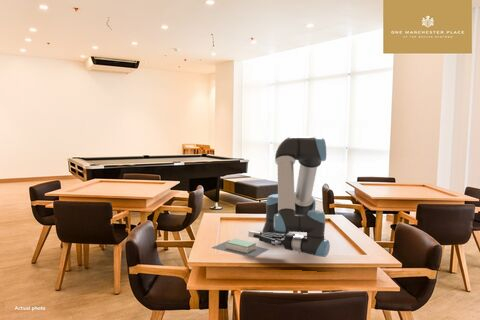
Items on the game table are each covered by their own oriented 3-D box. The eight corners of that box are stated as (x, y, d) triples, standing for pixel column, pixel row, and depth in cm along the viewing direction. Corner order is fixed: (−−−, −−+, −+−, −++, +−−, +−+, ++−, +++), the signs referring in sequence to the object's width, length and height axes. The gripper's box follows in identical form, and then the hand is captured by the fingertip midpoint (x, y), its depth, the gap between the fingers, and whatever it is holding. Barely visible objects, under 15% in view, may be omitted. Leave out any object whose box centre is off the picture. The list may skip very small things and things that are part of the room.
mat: (269, 249, 184) (269, 249, 184) (253, 258, 170) (253, 257, 170) (229, 241, 197) (229, 240, 197) (211, 248, 183) (211, 247, 183)
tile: (255, 242, 183) (235, 238, 190) (247, 246, 177) (226, 242, 183) (255, 248, 184) (235, 244, 190) (247, 253, 177) (226, 248, 183)
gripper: (288, 254, 162) (242, 244, 174) (299, 247, 173) (255, 238, 186) (288, 237, 162) (242, 228, 174) (300, 231, 173) (256, 223, 185)
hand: (249, 233), depth 180 cm, fingers closed
